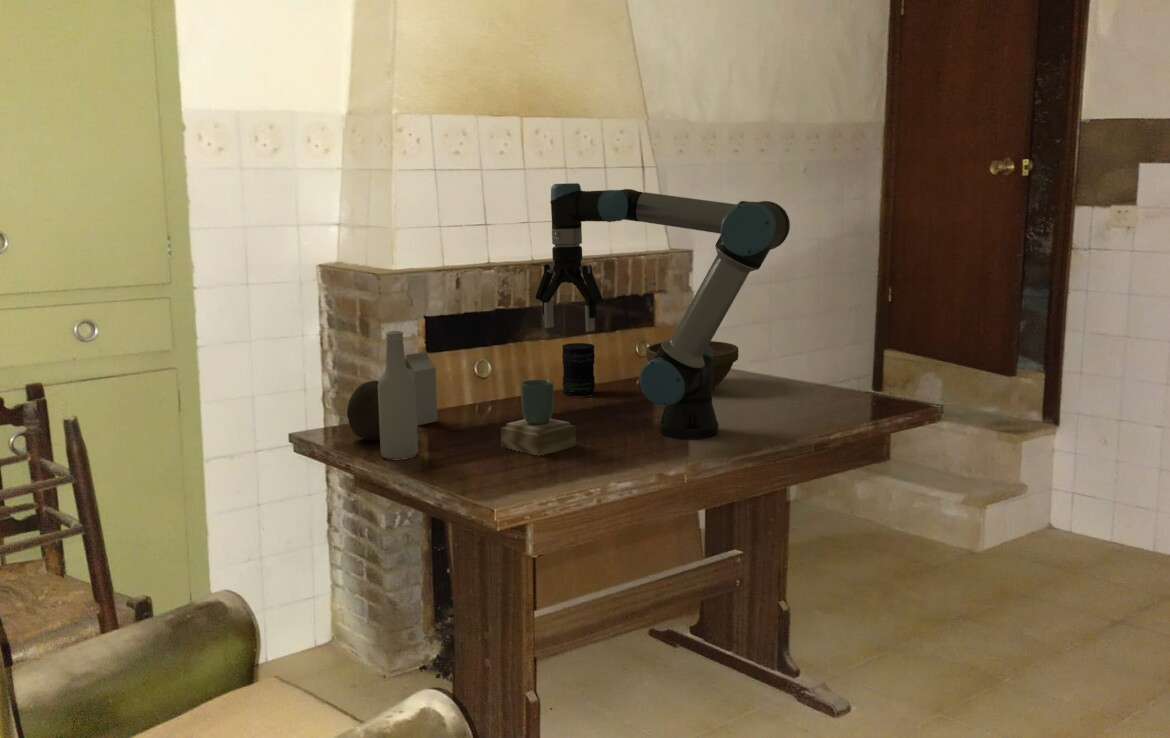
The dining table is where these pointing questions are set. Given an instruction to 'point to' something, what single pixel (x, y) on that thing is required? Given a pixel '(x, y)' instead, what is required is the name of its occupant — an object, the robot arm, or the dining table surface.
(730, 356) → the flower pot
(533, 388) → the cup
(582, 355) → the storage jar
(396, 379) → the alcohol
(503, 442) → the pedestal
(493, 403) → the dining table surface
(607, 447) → the dining table surface
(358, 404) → the black ball
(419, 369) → the milk carton
